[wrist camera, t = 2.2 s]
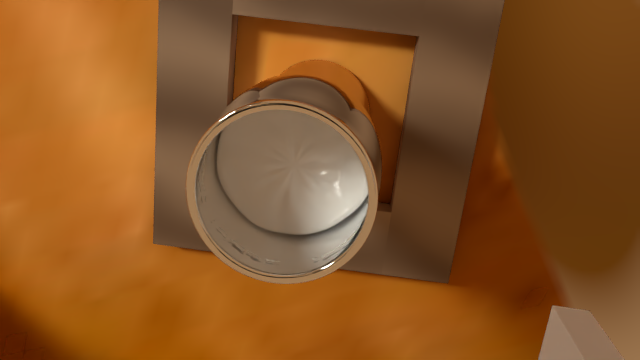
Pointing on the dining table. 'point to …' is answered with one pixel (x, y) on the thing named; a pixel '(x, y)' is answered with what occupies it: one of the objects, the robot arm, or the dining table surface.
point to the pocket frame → (417, 132)
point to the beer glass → (288, 175)
